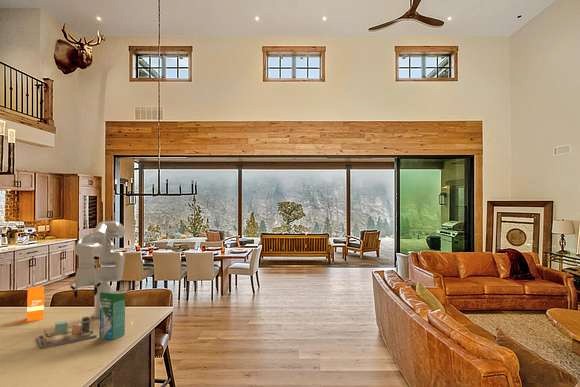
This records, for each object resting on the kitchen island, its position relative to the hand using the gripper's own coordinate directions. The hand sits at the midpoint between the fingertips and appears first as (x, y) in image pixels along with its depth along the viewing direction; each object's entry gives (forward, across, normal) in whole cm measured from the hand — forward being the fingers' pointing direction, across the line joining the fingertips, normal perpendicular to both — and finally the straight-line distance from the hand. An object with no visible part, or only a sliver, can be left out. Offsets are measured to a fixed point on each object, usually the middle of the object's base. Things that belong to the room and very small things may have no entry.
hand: (85, 296), depth 213 cm
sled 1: (+20, +9, 0) cm, 22 cm away
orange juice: (+20, +20, -48) cm, 56 cm away
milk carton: (+21, -10, +18) cm, 29 cm away
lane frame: (+20, +9, +5) cm, 23 cm away
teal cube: (+18, +12, 0) cm, 21 cm away
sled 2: (+20, +10, +9) cm, 25 cm away
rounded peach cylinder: (+18, +6, +9) cm, 21 cm away
